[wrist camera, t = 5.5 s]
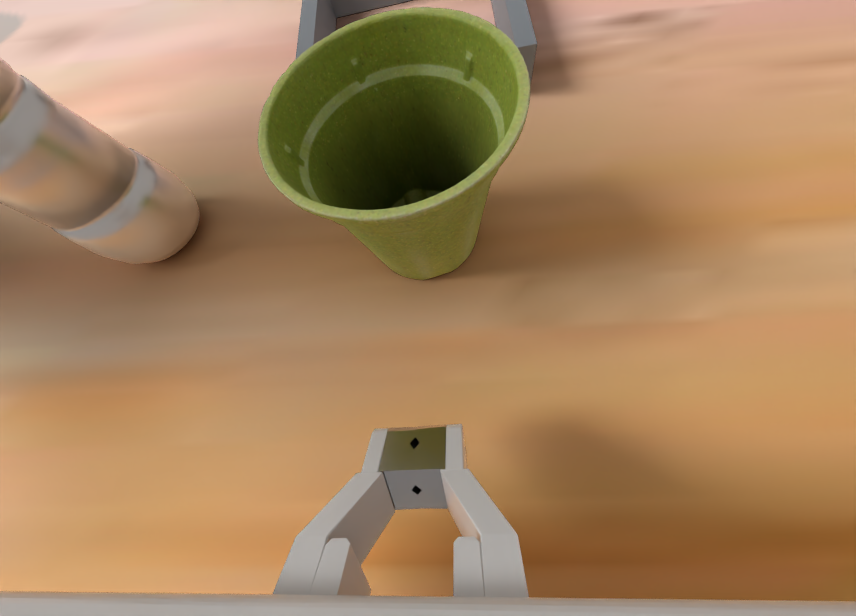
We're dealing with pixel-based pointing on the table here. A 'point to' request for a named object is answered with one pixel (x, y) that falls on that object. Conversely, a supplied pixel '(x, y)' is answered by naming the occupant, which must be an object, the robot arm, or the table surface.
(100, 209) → the plastic bottle
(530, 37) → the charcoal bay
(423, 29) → the plant pot
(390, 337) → the table surface
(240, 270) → the table surface
